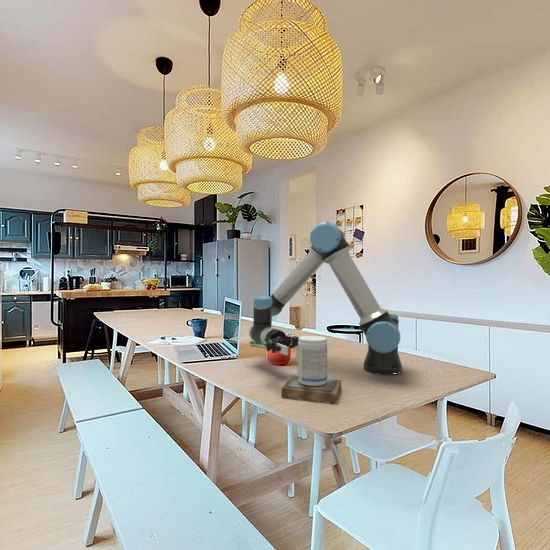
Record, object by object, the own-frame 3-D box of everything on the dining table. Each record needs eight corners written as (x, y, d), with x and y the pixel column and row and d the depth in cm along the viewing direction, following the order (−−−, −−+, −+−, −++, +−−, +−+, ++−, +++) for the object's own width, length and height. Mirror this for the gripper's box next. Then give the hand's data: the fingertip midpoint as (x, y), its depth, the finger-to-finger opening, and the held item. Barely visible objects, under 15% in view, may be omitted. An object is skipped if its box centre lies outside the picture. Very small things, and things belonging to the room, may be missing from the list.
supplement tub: (333, 384, 120) (333, 339, 120) (310, 389, 115) (310, 341, 115) (313, 377, 128) (314, 334, 128) (291, 381, 123) (292, 336, 123)
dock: (341, 388, 126) (341, 379, 126) (335, 403, 112) (335, 392, 112) (292, 383, 131) (292, 374, 131) (281, 397, 117) (281, 386, 117)
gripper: (300, 345, 150) (333, 356, 131) (244, 351, 138) (271, 364, 119) (300, 327, 150) (333, 335, 131) (244, 330, 138) (272, 340, 119)
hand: (304, 349), depth 125 cm, fingers open, 13 cm apart
